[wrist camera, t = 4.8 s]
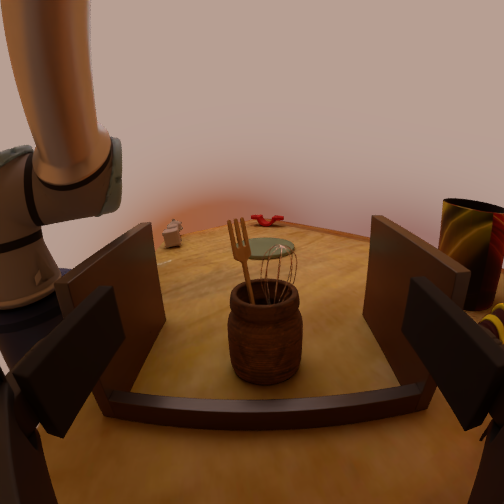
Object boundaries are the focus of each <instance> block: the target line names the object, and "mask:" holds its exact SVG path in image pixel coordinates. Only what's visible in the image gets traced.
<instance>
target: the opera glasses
mask: <svg viewBox="0 0 504 504" xmlns="http://www.w3.org/2000/svg"><path fill="white" fill-rule="evenodd" d="M478 324H480V325H481V326H483V327H485V328H487V329H489V330H490V331H491V332H492V333H493V334H494V335H495V336H496V339H497V338H498V339H499V340H500V341H501V342H502V345H503V344H504V303H499V304H497V305H496V306H495V307H494V308H493V309H492V312H491V314H489V315H487V316H485V317H484V318H483V319H482V320H481V321H480V322H479V323H478Z"/></svg>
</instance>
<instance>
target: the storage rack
mask: <svg viewBox="0 0 504 504" xmlns="http://www.w3.org/2000/svg"><path fill="white" fill-rule="evenodd" d="M470 275H471V271H470V270H468V269H467V268H465V267H464V266H462V265H461V264H460V263H458V262H457V261H455V260H454V259H452V258H451V257H449V256H448V255H446V254H444V253H443V252H441V251H440V250H438V249H437V248H435V247H434V246H432V245H430V244H429V243H427V242H425V241H424V240H422V239H421V238H419V237H418V236H416V235H414V234H412V233H411V232H409V231H408V230H406V229H404V228H403V227H401V226H399V225H398V224H396V223H394V222H393V221H391V220H389V219H387V218H386V217H384V216H380V215H372V219H371V236H370V249H369V261H368V272H367V281H366V290H365V299H364V306H363V314H362V315H363V316H364V318H365V320H366V322H367V323H368V325H369V327H370V329H371V331H372V332H373V334H374V336H375V338H376V340H377V341H378V343H379V345H380V347H381V349H382V351H383V352H384V354H385V356H386V358H387V360H388V362H389V364H390V366H391V368H392V369H393V371H394V373H395V375H396V377H397V379H398V381H399V383H400V385H401V386H398V387H392V388H386V389H380V390H373V391H366V392H359V393H351V394H343V395H333V396H322V397H310V398H294V399H270V400H221V399H197V398H181V397H169V396H158V395H149V394H140V393H132V392H129V391H130V389H131V387H132V385H133V383H134V381H135V379H136V377H137V375H138V373H139V371H140V369H141V367H142V365H143V363H144V361H145V359H146V357H147V355H148V353H149V351H150V350H151V348H152V346H153V344H154V342H155V340H156V338H157V336H158V334H159V332H160V330H161V328H162V326H163V325H164V323H165V321H166V317H165V311H164V306H163V300H162V294H161V288H160V282H159V276H158V270H157V263H156V256H155V249H154V242H153V234H152V225H151V222H147V223H140V224H138V225H137V226H135V227H134V228H132V229H131V230H129V231H127V232H126V233H124V234H123V235H121V236H120V237H118V238H117V239H115V240H114V241H112V242H111V243H110V244H108V245H106V246H105V247H103V248H102V249H100V250H99V251H97V252H96V253H95V254H93V255H92V256H90V257H89V258H87V259H86V260H85V261H83V262H82V263H80V264H79V265H77V266H76V267H75V268H73V269H72V270H70V271H69V272H68V273H66V274H65V275H64V276H62V277H61V278H60V279H58V280H57V281H56V282H54V288H55V291H56V295H57V298H58V302H59V305H60V309H61V312H62V315H63V318H65V317H66V316H67V315H68V314H69V313H71V312H72V311H73V310H74V309H75V308H76V307H77V306H78V305H79V304H80V303H81V302H82V301H83V300H84V299H85V298H86V297H87V296H88V295H90V294H91V293H92V292H93V291H94V290H95V289H96V288H97V287H98V286H113V288H114V292H115V297H116V301H117V305H118V309H119V313H120V317H121V321H122V325H123V329H124V333H125V336H126V338H125V340H124V341H123V343H122V344H121V346H120V347H119V349H118V351H117V352H116V354H115V355H114V357H113V358H112V360H111V361H110V363H109V364H108V366H107V368H106V369H105V371H104V372H103V374H102V375H101V377H100V379H99V380H98V382H97V383H96V385H95V387H94V388H93V390H92V393H93V395H94V397H95V399H96V401H97V403H98V406H99V408H100V410H101V412H102V414H103V415H104V416H108V417H113V418H118V419H123V420H129V421H135V422H142V423H149V424H156V425H164V426H173V427H184V428H196V429H212V430H288V429H304V428H317V427H327V426H336V425H344V424H352V423H359V422H365V421H371V420H377V419H383V418H388V417H393V416H398V415H403V414H407V413H412V412H416V411H420V410H424V409H427V408H428V406H429V404H430V401H431V399H432V397H433V394H434V392H435V390H436V387H437V384H436V383H435V381H434V380H433V378H432V377H431V375H430V373H429V372H428V370H427V369H426V367H425V366H424V364H423V363H422V361H421V360H420V358H419V357H418V355H417V354H416V352H415V351H414V349H413V348H412V346H411V345H410V343H409V342H408V340H407V339H406V337H405V336H404V335H403V333H402V332H401V327H402V323H403V318H404V313H405V308H406V302H407V297H408V291H409V285H410V278H411V277H421V276H425V277H426V278H427V279H429V280H430V281H431V282H432V283H433V284H434V285H435V286H437V287H438V288H439V289H440V290H441V291H442V292H443V293H444V294H446V295H447V296H448V297H449V298H450V299H451V300H452V301H453V302H454V303H456V304H457V305H458V306H459V307H460V308H461V309H462V310H463V306H464V302H465V298H466V294H467V289H468V285H469V280H470Z"/></svg>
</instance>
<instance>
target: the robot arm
mask: <svg viewBox="0 0 504 504" xmlns="http://www.w3.org/2000/svg"><path fill="white" fill-rule="evenodd" d="M90 3H91V0H1V9H2V17H3V23H4V30H5V36H6V41H7V46H8V51H9V56H10V60H11V65H12V69H13V73H14V77H15V81H16V85H17V88H18V92H19V95H20V98H21V102H22V105H23V108H24V112H25V115H26V117H27V121H28V124H29V127H30V130H31V133H32V136H33V138H34V141H35V144H36V148H35V151H33V149H32V147H31V146H29V145H23V146H18V147H14V148H12V149H7V150H4V151H2V152H0V312H14V311H18V310H22V309H26V308H29V307H32V306H34V305H36V304H39V303H41V302H43V301H45V300H46V299H48V298H50V297H51V296H53V295H54V294H55V293H56V291H55V288H54V282H56V281H57V280H58V279H60V278H61V277H62V276H61V272H60V270H59V268H58V266H57V264H56V263H55V261H54V259H53V257H52V256H51V254H50V252H49V250H48V248H47V246H46V244H45V242H44V240H43V235H42V230H41V226H43V225H48V224H53V223H58V222H64V221H69V220H75V219H80V218H86V217H93V216H95V217H99V216H101V215H103V214H107V213H112V212H114V211H116V210H117V209H118V208H119V206H120V203H121V195H122V179H121V178H122V149H121V142H120V140H119V139H118V138H113V137H110V136H109V133H108V131H107V130H106V129H105V127H104V126H103V125H101V124H100V123H98V122H97V117H96V109H95V100H94V89H93V77H92V63H91V39H90V38H91V37H90V6H91V5H90ZM401 332H402V333H403V335H404V336H405V337H406V339H407V340H408V342H409V343H410V345H411V346H412V348H413V349H414V351H415V352H416V354H417V355H418V357H419V358H420V360H421V361H422V363H423V364H424V366H425V367H426V369H427V370H428V372H429V373H430V375H431V377H432V378H433V380H434V381H435V383H436V384H437V386H438V388H439V389H440V391H441V392H442V394H443V396H444V397H445V399H446V400H447V402H448V404H449V405H450V407H451V409H452V410H453V412H454V414H455V415H456V417H457V419H458V421H459V422H460V424H461V426H462V427H463V429H464V431H467V430H470V429H472V428H475V427H477V426H480V425H481V424H482V423H483V421H484V419H485V418H486V416H487V414H488V412H489V414H490V415H491V417H492V418H493V419H492V420H491V422H490V423H489V425H488V427H487V428H486V430H485V431H484V433H483V434H482V436H481V438H480V440H479V441H482V440H483V439H484V437H485V436H486V435H487V436H486V441H485V445H484V450H483V454H482V458H481V462H480V465H479V469H478V472H477V476H476V479H475V482H474V486H473V489H472V492H471V495H470V498H469V500H468V503H467V504H504V344H503V345H502V342H501V341H500V340H499V339H498V338H497V339H496V336H495V335H494V334H493V333H492V332H491V331H490V330H489V329H487V328H485V327H483V326H481V325H480V324H477V323H476V322H475V321H474V320H473V319H472V318H471V317H469V316H468V315H467V314H466V313H465V312H464V311H463V310H462V309H461V308H460V307H459V306H458V305H457V304H456V303H454V302H453V301H452V300H451V299H450V298H449V297H448V296H447V295H446V294H444V293H443V292H442V291H441V290H440V289H439V288H438V287H437V286H435V285H434V284H433V283H432V282H431V281H430V280H429V279H427V278H426V277H425V276H421V277H411V278H410V285H409V291H408V297H407V302H406V308H405V313H404V318H403V323H402V327H401ZM125 338H126V336H125V333H124V329H123V325H122V321H121V317H120V313H119V309H118V305H117V301H116V297H115V292H114V288H113V286H98V287H97V288H96V289H95V290H94V291H93V292H92V293H91V294H90V295H88V296H87V297H86V298H85V299H84V300H83V301H82V302H81V303H80V304H79V305H78V306H77V307H76V308H75V309H74V310H73V311H72V312H71V313H69V314H68V315H67V316H66V317H65V318H64V319H63V320H62V321H61V322H60V323H59V324H58V325H57V326H56V327H55V328H54V329H53V330H52V331H51V332H50V333H49V334H48V335H47V336H46V337H45V338H43V339H42V340H40V341H38V342H37V343H36V344H35V345H34V346H33V347H32V348H31V349H30V351H28V352H27V353H26V354H25V357H22V358H21V360H20V361H19V362H18V363H17V364H16V365H15V366H14V367H13V368H12V369H11V370H10V371H9V372H8V373H7V375H6V376H5V375H4V373H3V371H2V369H1V367H0V504H58V502H57V499H56V496H55V493H54V490H53V486H52V483H51V479H50V476H49V472H48V468H47V465H46V461H45V456H44V452H43V448H42V443H41V438H40V434H39V432H38V430H37V429H36V427H37V425H38V424H39V422H40V423H41V425H42V426H43V428H44V429H45V431H46V432H47V433H48V434H51V435H54V436H57V437H60V438H64V437H65V435H66V433H67V431H68V430H69V428H70V426H71V425H72V423H73V421H74V419H75V418H76V416H77V414H78V413H79V411H80V409H81V408H82V406H83V404H84V403H85V401H86V399H87V398H88V396H89V395H90V393H91V391H92V390H93V388H94V387H95V385H96V383H97V382H98V380H99V379H100V377H101V375H102V374H103V372H104V371H105V369H106V368H107V366H108V364H109V363H110V361H111V360H112V358H113V357H114V355H115V354H116V352H117V351H118V349H119V347H120V346H121V344H122V343H123V341H124V340H125Z"/></svg>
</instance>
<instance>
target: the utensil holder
mask: <svg viewBox="0 0 504 504" xmlns="http://www.w3.org/2000/svg"><path fill="white" fill-rule="evenodd" d="M240 221H241V227H242V232H243V238H244V243H245V246H243V243H242V238H241V234H240V229H239V224H238V220H237V219H234V225H235V230H236V236H237V241H238V248H237V246H236V242H235V237H234V233H233V228H232V224H231V221H230V220H228V221H227V224H228V230H229V235H230V240H231V246H232V251H233V256H234V259H235V260H237V261H240V262H241V263H242V267H243V272H244V277H245V281H246V282H243V283H241V284H239V285H237V286H236V287H235V288H234V289H233V290H232V292H231V296H230V308H231V310H232V311H231V312H230V314H229V318H228V340H229V350H230V358H231V363H232V367H233V369H234V371H235V372H236V373H237V375H238V376H240V377H241V378H242V379H244V380H246V381H248V382H251V383H255V384H262V385H268V384H275V383H279V382H282V381H285V380H287V379H288V378H290V377H291V376H292V375H293V374H294V373H295V372H296V371H297V369H298V367H299V365H300V361H301V352H302V336H303V322H302V316H301V313H300V311H299V309H298V308H299V303H300V302H299V295H298V291H297V289H296V287H295V286H294V285H292V284H290V283H288V280H287V282H286V281H282V280H278V278H279V273H278V274H277V279H266V278H267V268H266V275H265V279H254V280H250V277H249V272H248V267H247V260H248V258H249V257H250V256H251V249H250V245H249V240H248V235H247V231H246V226H245V222H244V218H240ZM274 246H275V247H279V248H280V247H281V252H280V257H281V256H282V247H283V248H284V246H281V245H279V246H276V245H274ZM274 246H272V248H274ZM288 247H289V246H287V247H285V248H288ZM272 248H270V249H269V250H270V251H271V249H272ZM285 248H284V249H285ZM277 249H278V248H277ZM277 249H276V250H277ZM288 249H290V250H291V248H290V247H289V248H288ZM269 250H268V251H269ZM276 250H275V251H276ZM285 250H286V249H285ZM268 251H267V252H268ZM270 251H269V254H270ZM275 251H274V252H275ZM286 251H287V250H286ZM267 252H266V253H267ZM274 252H273V253H274ZM287 252H288V251H287ZM292 252H293V251H292V250H291V253H292ZM266 253H265V254H266ZM273 253H272V254H273ZM293 253H294V252H293ZM272 254H271V256H272ZM288 254H289V252H288ZM294 254H295V253H294ZM264 256H265V255H264ZM271 256H270V257H271ZM289 256H290V254H289ZM295 257H296V255H295ZM268 259H269V260H270V258H269V255H268ZM290 259H291V264H292V258H291V256H290ZM263 260H264V257H263ZM269 260H268V262H269ZM296 261H297V258H296ZM268 262H267V267H268ZM279 264H281V258H280V260H279ZM262 266H263V261H262ZM296 269H297V262H296ZM290 270H291V275H292V269H291V266H290ZM279 271H280V266H279V267H278V272H279ZM261 273H262V268H261ZM289 275H290V272H289ZM295 276H296V272H295ZM288 279H289V277H288ZM294 281H295V278H294ZM290 282H291V277H290ZM293 284H294V282H293Z"/></svg>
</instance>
